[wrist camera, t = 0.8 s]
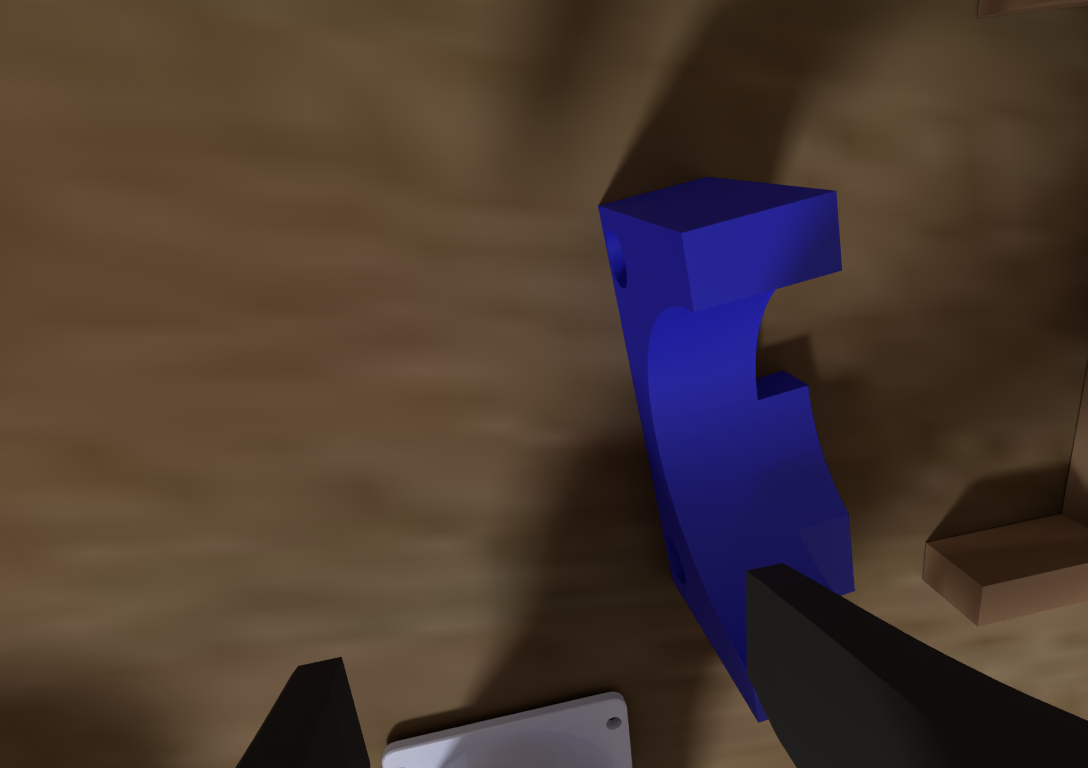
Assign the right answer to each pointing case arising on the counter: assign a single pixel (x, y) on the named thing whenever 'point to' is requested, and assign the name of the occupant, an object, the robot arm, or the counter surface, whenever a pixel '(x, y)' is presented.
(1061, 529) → the wooden rack
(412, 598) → the counter surface
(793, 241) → the cable clip
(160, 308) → the counter surface
